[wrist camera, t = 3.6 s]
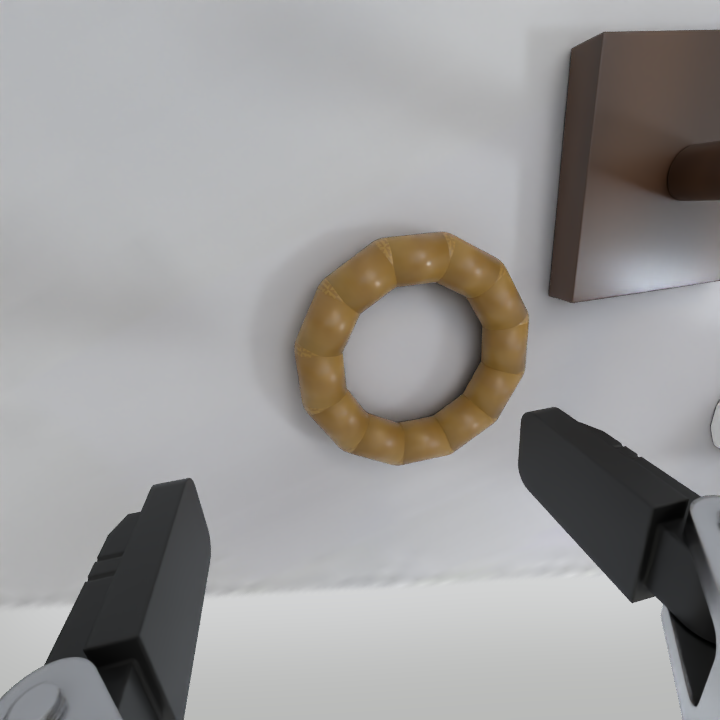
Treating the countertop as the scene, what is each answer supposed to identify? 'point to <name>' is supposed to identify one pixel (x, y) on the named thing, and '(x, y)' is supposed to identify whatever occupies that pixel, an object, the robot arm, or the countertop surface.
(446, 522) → the countertop surface
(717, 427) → the foam cup
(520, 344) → the ring
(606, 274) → the post
